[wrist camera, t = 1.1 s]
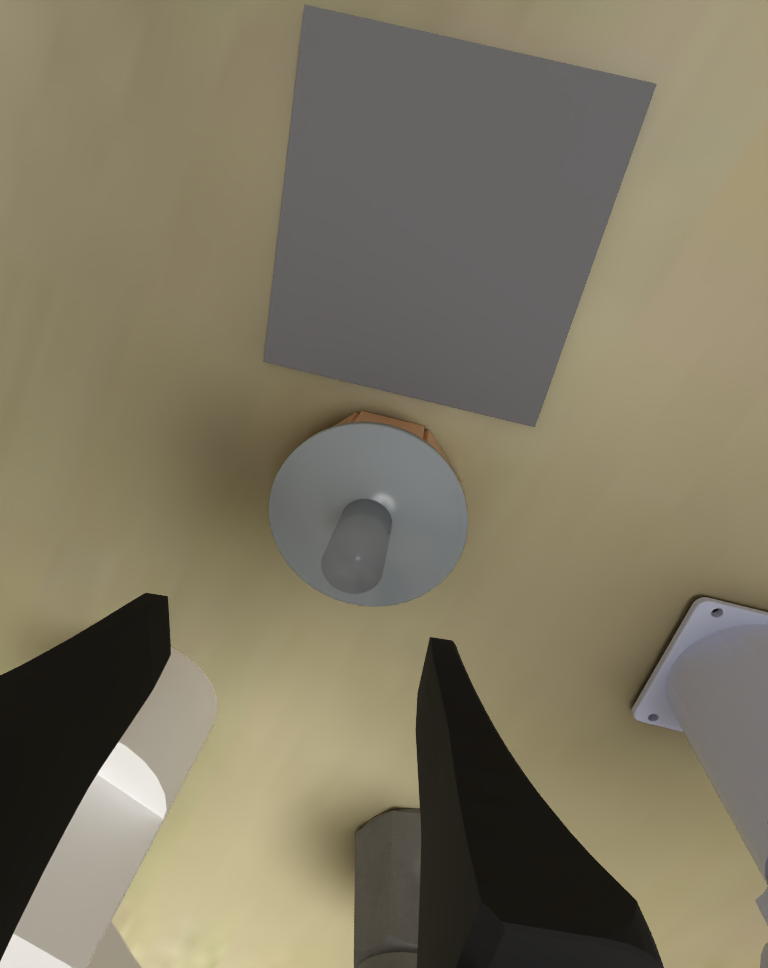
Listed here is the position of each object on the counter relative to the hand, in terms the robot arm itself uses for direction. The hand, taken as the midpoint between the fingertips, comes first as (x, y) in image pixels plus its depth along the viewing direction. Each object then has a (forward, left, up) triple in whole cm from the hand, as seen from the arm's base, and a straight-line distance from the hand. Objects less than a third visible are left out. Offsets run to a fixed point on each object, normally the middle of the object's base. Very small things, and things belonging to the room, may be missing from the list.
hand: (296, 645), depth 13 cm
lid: (-1, 0, -8) cm, 8 cm away
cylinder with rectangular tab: (+10, +17, -11) cm, 23 cm away
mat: (-1, -11, -11) cm, 15 cm away
